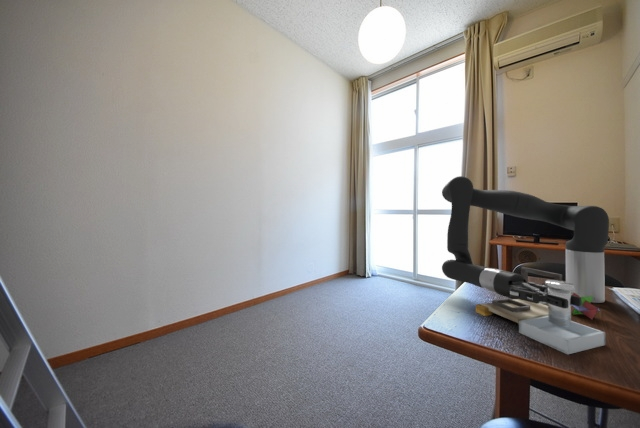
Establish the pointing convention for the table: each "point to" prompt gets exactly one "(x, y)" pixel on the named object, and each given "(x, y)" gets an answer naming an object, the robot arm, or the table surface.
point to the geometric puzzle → (585, 307)
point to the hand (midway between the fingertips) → (573, 303)
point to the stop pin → (554, 312)
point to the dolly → (518, 302)
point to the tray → (562, 335)
